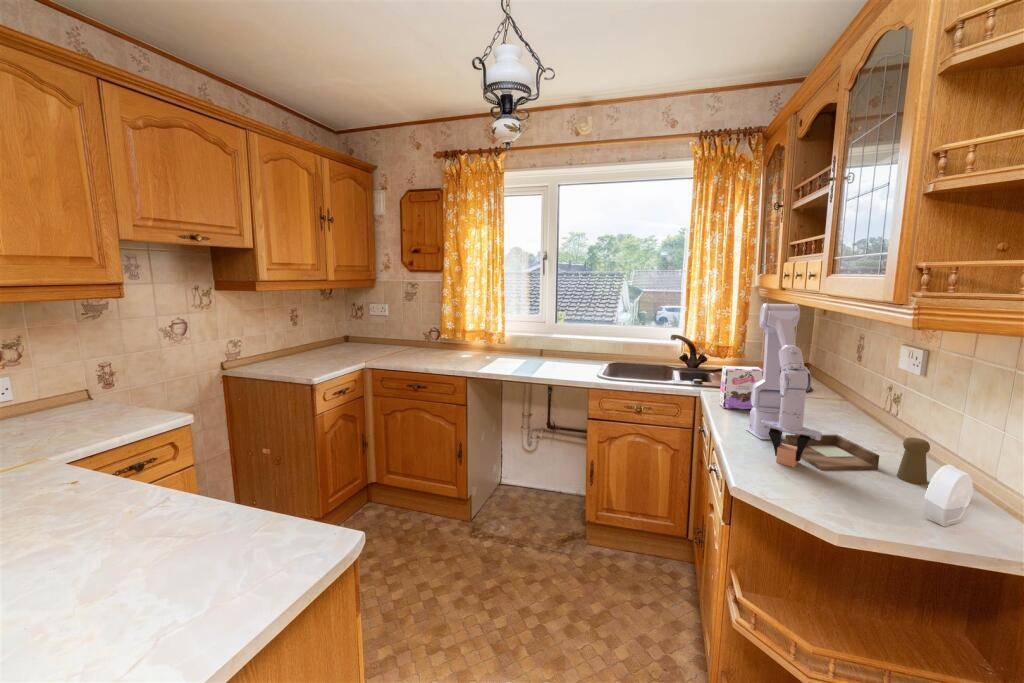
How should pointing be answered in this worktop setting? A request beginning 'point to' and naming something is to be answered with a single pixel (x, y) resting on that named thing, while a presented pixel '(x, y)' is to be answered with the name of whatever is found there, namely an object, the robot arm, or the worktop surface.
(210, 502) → the worktop surface
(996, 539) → the worktop surface
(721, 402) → the candy box
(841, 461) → the arena
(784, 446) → the cube
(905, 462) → the cork
